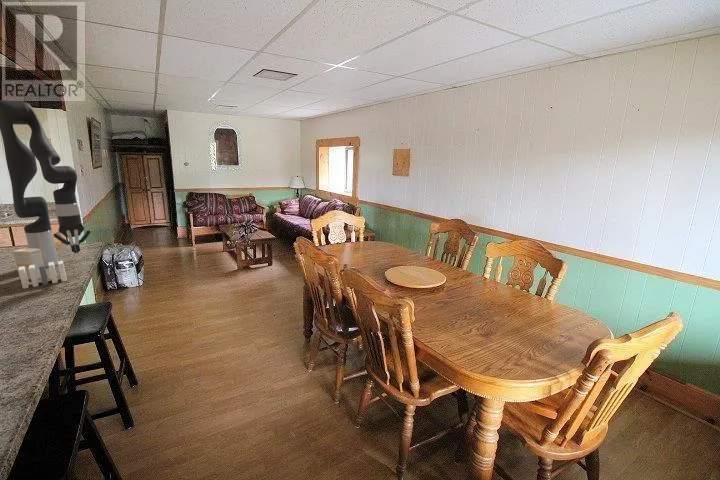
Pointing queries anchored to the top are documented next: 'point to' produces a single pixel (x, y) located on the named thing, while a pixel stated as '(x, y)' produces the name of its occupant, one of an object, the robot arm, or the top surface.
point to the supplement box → (28, 260)
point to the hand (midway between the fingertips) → (76, 252)
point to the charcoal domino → (43, 274)
